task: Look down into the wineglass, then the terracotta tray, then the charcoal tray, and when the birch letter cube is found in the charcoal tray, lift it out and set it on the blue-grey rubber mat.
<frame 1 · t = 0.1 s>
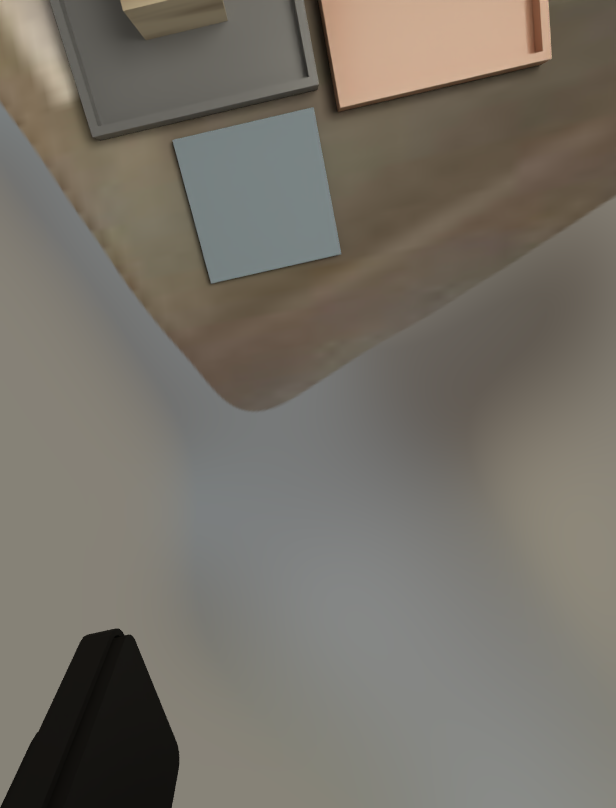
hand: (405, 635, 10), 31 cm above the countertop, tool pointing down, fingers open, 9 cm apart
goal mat: (260, 199, 36), on the countertop
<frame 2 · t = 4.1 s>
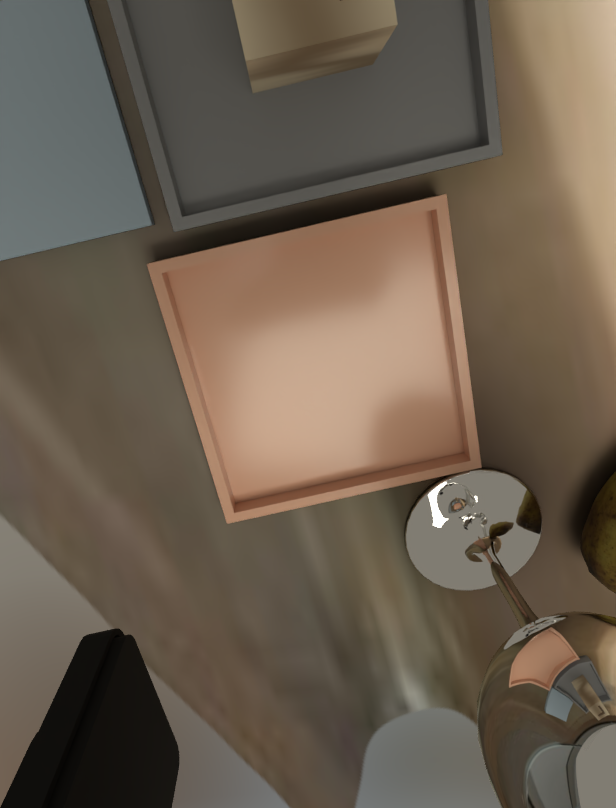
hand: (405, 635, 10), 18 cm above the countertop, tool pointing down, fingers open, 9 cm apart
charcoal tray: (298, 12, 22), on the countertop
letter cube: (299, 8, 22), resting on charcoal tray
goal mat: (17, 138, 23), on the countertop
terracotta tray: (324, 365, 27), on the countertop
wineglass: (471, 528, 31), on the countertop
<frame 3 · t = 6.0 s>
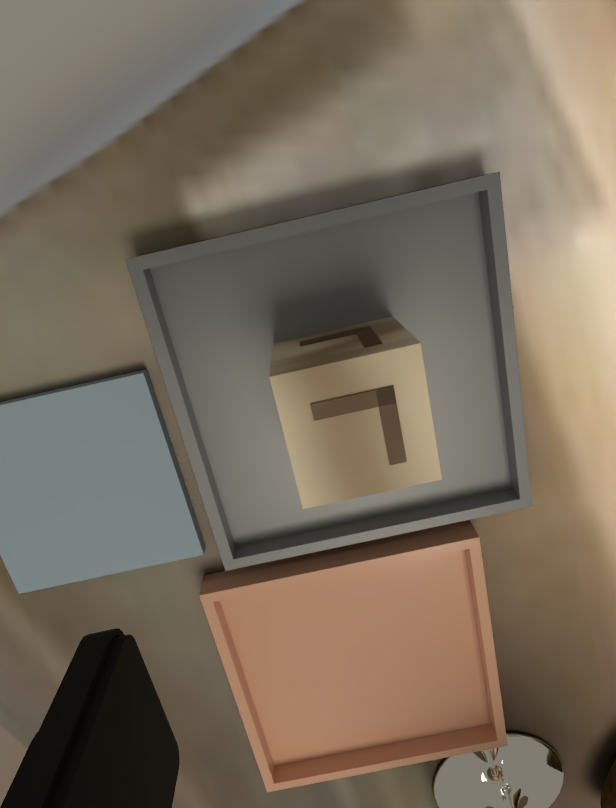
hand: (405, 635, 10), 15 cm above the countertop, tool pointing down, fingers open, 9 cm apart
charcoal tray: (343, 383, 24), on the countertop
letter cube: (344, 386, 23), resting on charcoal tray
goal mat: (81, 484, 25), on the countertop
terracotta tray: (360, 652, 29), on the countertop
wineglass: (495, 776, 32), on the countertop
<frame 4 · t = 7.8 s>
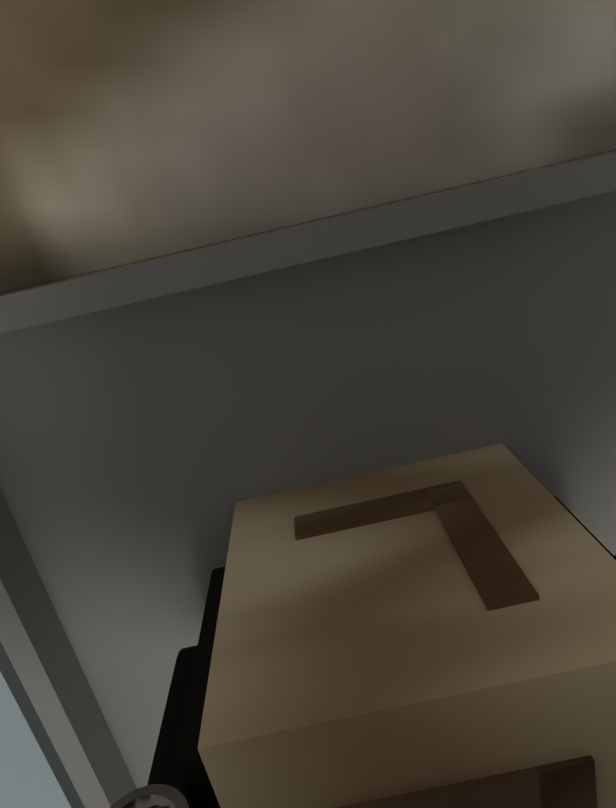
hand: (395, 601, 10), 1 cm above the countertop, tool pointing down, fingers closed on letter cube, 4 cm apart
charcoal tray: (386, 568, 11), on the countertop
letter cube: (390, 583, 11), resting on charcoal tray, touching gripper
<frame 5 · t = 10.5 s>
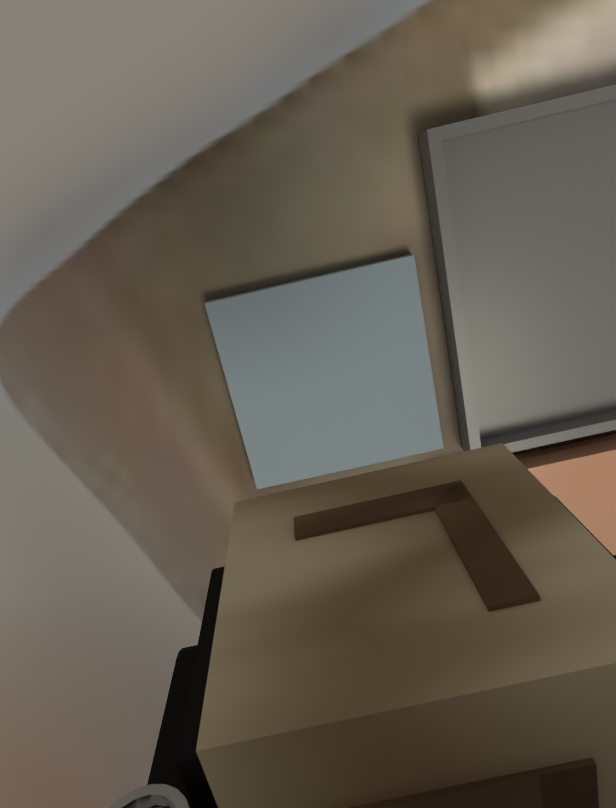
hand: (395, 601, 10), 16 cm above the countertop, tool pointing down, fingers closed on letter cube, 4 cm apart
charcoal tray: (599, 270, 24), on the countertop
letter cube: (390, 584, 11), point 15 cm above the countertop, touching gripper
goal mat: (329, 376, 25), on the countertop
terracotta tray: (574, 555, 29), on the countertop
when the fingers open (3 cm above the countertop, at t = 13.3 s): letter cube drops 1 cm, resting on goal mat.
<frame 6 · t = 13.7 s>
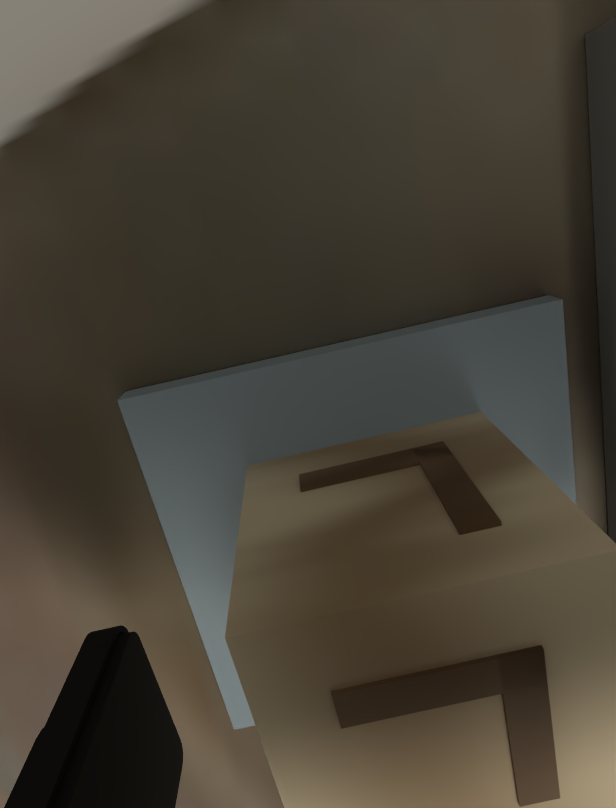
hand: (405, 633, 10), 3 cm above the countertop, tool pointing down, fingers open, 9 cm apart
letter cube: (384, 539, 12), point 1 cm above the countertop, touching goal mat
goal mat: (373, 527, 13), on the countertop
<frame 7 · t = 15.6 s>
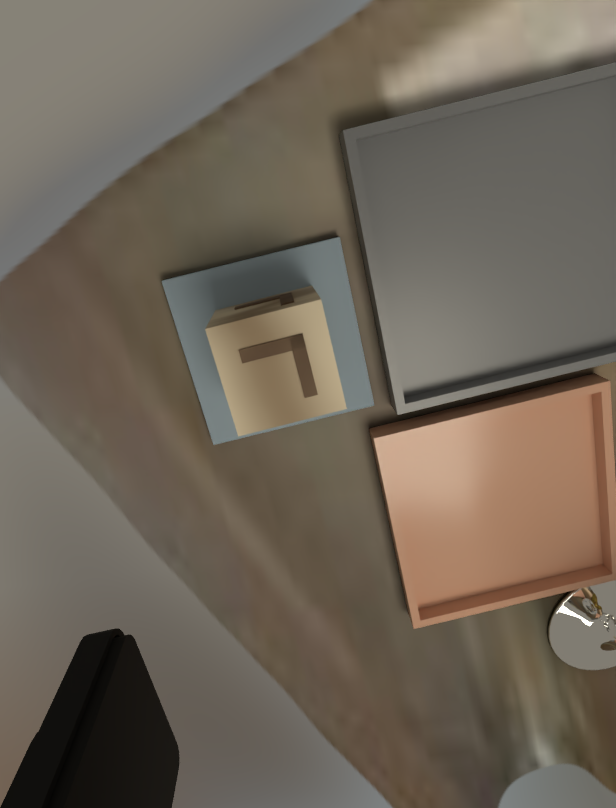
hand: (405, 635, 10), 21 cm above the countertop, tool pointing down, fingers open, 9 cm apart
charcoal tray: (499, 248, 28), on the countertop
letter cube: (276, 345, 29), point 1 cm above the countertop, touching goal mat
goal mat: (273, 343, 29), on the countertop
terracotta tray: (495, 500, 33), on the countertop
wineglass: (600, 619, 37), on the countertop
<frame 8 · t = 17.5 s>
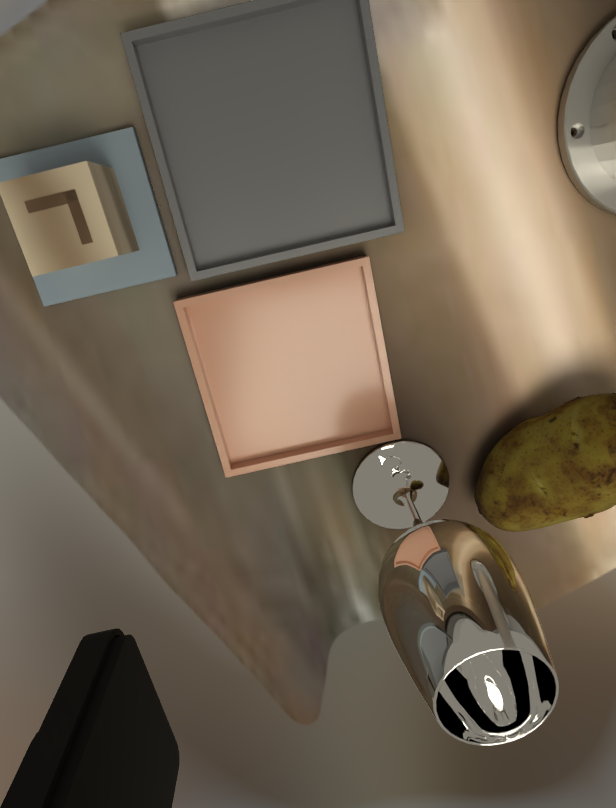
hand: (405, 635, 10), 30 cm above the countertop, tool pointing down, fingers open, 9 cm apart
potato: (538, 441, 42), on the countertop
charcoal tray: (271, 141, 35), on the countertop
letter cube: (88, 219, 35), point 1 cm above the countertop, touching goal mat
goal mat: (89, 220, 35), on the countertop
terracotta tray: (292, 367, 39), on the countertop
wineglass: (399, 483, 43), on the countertop
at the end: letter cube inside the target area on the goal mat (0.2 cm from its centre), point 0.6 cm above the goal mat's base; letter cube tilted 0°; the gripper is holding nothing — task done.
